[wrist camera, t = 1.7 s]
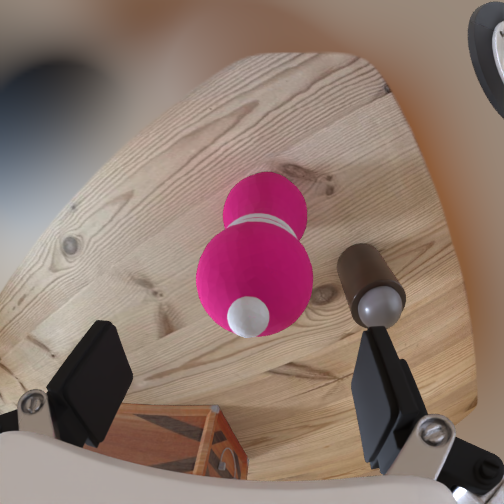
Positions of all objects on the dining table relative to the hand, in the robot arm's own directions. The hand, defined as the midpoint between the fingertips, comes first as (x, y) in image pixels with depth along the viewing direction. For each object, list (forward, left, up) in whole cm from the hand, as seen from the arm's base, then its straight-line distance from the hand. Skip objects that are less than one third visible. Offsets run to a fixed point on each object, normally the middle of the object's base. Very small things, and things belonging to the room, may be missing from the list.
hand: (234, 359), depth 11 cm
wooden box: (+45, -26, -22) cm, 56 cm away
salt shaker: (+7, +10, -22) cm, 25 cm away
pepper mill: (0, 0, -22) cm, 22 cm away
